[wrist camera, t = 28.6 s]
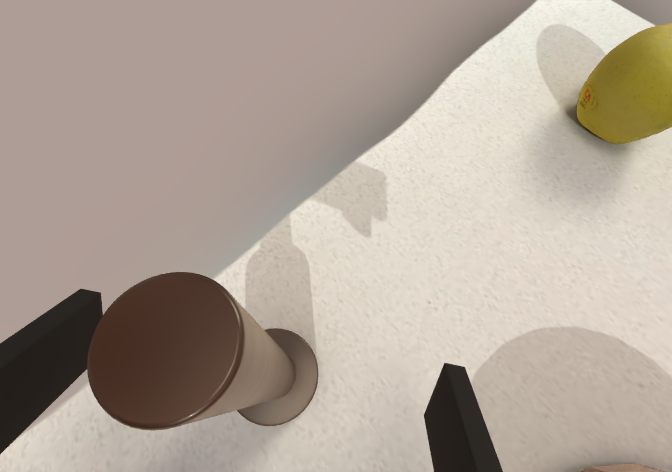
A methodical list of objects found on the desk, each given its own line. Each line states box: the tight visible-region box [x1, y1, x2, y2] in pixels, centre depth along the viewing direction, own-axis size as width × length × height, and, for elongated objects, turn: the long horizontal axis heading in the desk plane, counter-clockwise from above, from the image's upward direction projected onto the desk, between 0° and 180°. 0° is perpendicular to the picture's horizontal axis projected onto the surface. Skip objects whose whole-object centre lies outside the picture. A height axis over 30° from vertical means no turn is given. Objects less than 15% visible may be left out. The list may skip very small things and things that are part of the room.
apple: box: [577, 24, 672, 144], centre depth 27 cm, size 8×8×10 cm
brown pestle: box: [87, 272, 318, 430], centre depth 13 cm, size 4×4×18 cm
